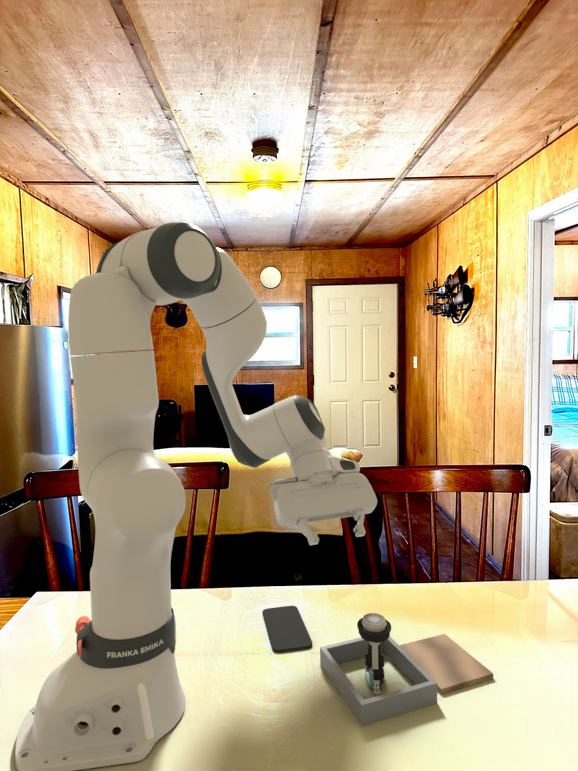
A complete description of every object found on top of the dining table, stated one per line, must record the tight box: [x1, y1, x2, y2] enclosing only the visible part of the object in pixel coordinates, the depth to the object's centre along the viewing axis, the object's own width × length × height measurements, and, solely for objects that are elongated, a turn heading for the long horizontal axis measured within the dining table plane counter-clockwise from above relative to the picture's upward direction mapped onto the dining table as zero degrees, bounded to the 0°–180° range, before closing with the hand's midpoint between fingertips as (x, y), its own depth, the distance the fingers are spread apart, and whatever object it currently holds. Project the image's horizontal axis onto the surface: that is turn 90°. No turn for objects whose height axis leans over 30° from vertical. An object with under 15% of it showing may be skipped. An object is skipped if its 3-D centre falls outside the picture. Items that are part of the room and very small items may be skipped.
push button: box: [356, 612, 392, 695], centre depth 75 cm, size 7×5×10 cm
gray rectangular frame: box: [319, 635, 438, 727], centre depth 75 cm, size 13×15×3 cm
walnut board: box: [398, 633, 494, 695], centre depth 80 cm, size 10×12×1 cm
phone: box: [261, 605, 313, 654], centre depth 91 cm, size 7×1×15 cm
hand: (338, 539), depth 87 cm, fingers open, 8 cm apart
